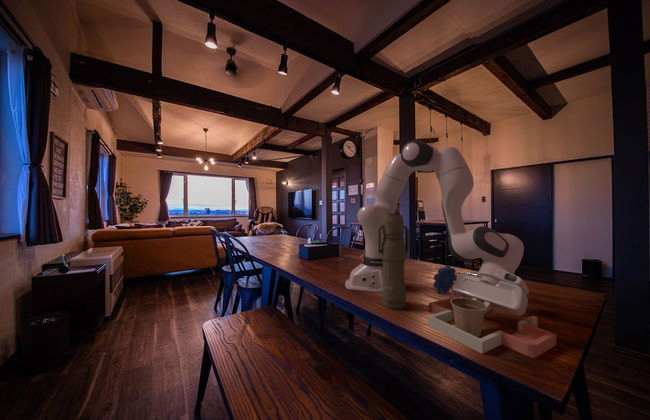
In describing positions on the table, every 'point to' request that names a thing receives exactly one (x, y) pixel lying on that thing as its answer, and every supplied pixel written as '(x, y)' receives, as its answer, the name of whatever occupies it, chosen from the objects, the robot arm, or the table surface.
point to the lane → (530, 321)
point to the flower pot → (468, 315)
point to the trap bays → (526, 343)
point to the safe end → (464, 333)
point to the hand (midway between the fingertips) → (476, 314)
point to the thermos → (393, 260)
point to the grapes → (444, 279)
